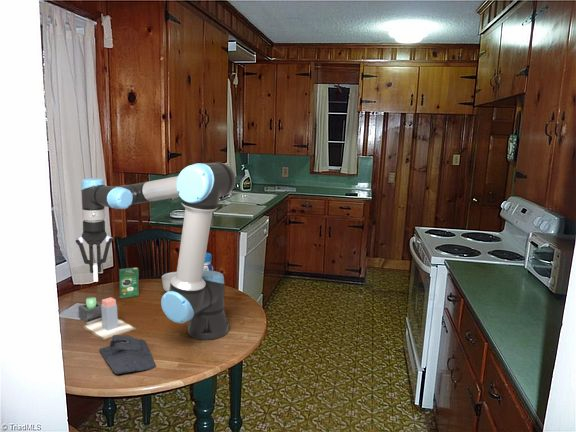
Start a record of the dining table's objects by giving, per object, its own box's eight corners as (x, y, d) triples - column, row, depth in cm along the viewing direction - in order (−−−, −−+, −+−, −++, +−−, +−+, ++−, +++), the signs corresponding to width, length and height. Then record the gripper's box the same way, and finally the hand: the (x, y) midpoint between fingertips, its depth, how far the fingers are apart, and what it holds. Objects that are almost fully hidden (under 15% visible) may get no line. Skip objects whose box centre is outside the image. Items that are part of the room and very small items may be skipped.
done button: (98, 310, 169) (97, 298, 168) (89, 313, 166) (88, 301, 166) (94, 308, 171) (93, 296, 171) (85, 310, 169) (84, 298, 168)
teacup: (179, 296, 194) (179, 279, 193) (157, 294, 196) (157, 277, 195) (192, 286, 208) (192, 270, 206) (171, 284, 210) (171, 268, 208)
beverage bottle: (190, 298, 193) (190, 255, 189) (201, 292, 200) (201, 250, 197) (206, 301, 190) (206, 258, 186) (217, 295, 197) (217, 253, 194)
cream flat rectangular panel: (136, 329, 161) (136, 326, 161) (103, 341, 151) (103, 338, 151) (113, 316, 172) (113, 313, 172) (81, 326, 162) (80, 324, 162)
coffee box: (138, 293, 196) (137, 266, 193) (139, 296, 193) (138, 268, 191) (119, 296, 192) (118, 268, 189) (120, 298, 189) (119, 270, 187)
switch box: (105, 317, 170) (104, 305, 169) (87, 323, 165) (86, 311, 164) (96, 312, 174) (95, 301, 173) (79, 317, 169) (78, 306, 168)
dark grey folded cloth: (107, 382, 128) (106, 367, 127) (98, 349, 147) (98, 336, 146) (159, 369, 135) (158, 355, 134) (144, 340, 154) (144, 327, 153)
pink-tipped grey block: (117, 327, 161) (116, 299, 159) (107, 330, 158) (106, 302, 156) (112, 324, 164) (111, 296, 161) (102, 327, 160) (100, 299, 158)
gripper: (73, 222, 152) (76, 285, 157) (113, 221, 157) (114, 282, 162) (74, 218, 159) (77, 278, 163) (112, 217, 164) (114, 275, 169)
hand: (95, 280), depth 163 cm, fingers closed
